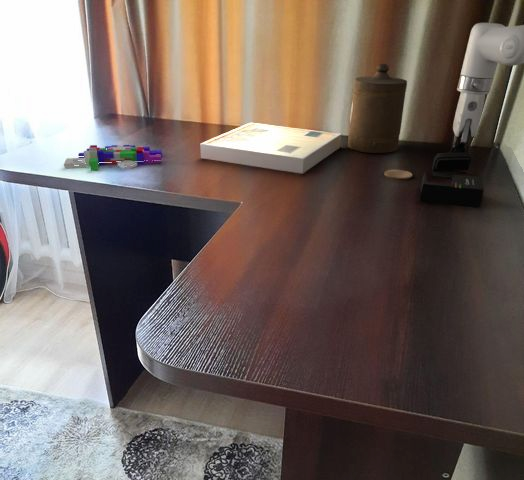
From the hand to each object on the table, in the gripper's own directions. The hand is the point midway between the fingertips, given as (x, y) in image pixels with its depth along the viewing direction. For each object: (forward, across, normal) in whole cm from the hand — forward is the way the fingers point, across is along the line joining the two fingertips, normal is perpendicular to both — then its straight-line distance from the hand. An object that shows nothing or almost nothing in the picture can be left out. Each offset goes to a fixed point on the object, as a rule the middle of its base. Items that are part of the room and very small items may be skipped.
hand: (454, 162), depth 132 cm
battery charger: (+2, -22, +3) cm, 22 cm away
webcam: (+2, -4, +1) cm, 5 cm away
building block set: (+5, -11, +90) cm, 91 cm away
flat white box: (+4, +7, +49) cm, 50 cm away
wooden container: (+3, +20, +21) cm, 30 cm away
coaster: (+3, -7, +14) cm, 16 cm away
